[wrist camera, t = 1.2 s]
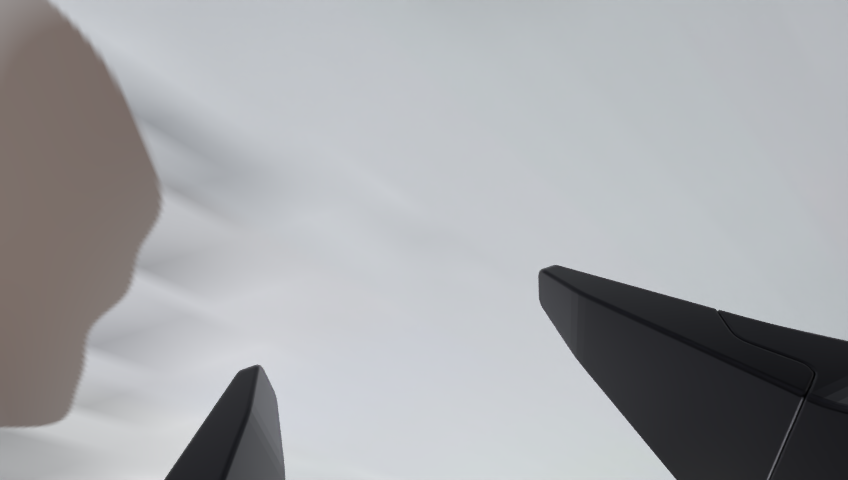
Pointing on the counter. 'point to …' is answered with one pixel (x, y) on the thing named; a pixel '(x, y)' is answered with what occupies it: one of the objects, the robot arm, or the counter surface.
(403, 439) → the counter surface
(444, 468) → the counter surface
